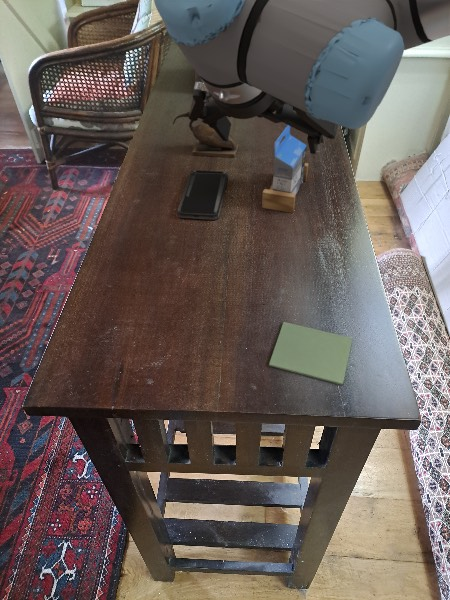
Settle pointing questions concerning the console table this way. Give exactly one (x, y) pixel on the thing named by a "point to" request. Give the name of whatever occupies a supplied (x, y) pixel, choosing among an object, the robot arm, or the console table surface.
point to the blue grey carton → (288, 163)
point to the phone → (203, 195)
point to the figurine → (210, 141)
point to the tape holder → (281, 197)
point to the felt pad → (311, 353)
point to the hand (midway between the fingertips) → (270, 138)
